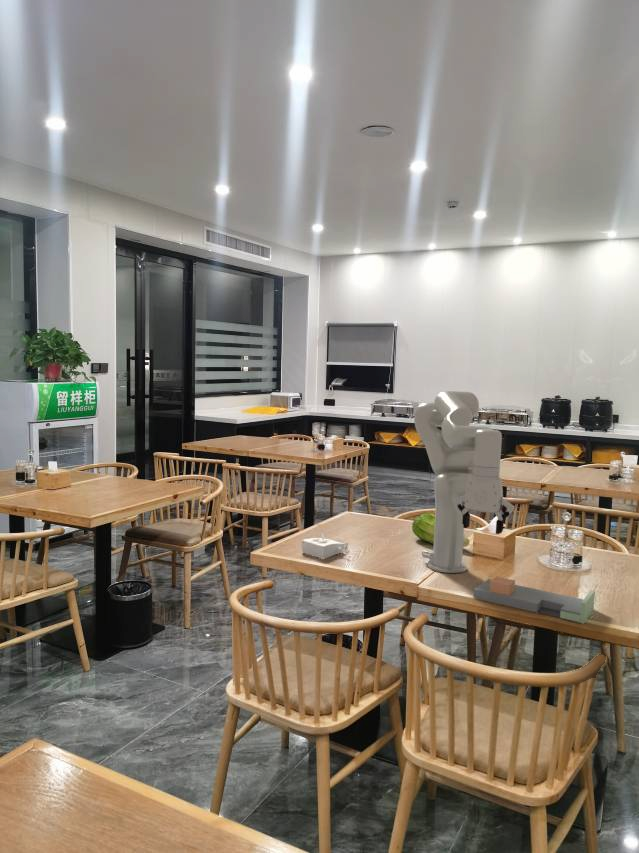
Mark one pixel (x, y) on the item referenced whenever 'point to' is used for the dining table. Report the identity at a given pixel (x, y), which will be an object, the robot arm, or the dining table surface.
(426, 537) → the lettuce
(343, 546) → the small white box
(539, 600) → the grey stepped platform
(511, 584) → the block
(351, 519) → the dining table surface
